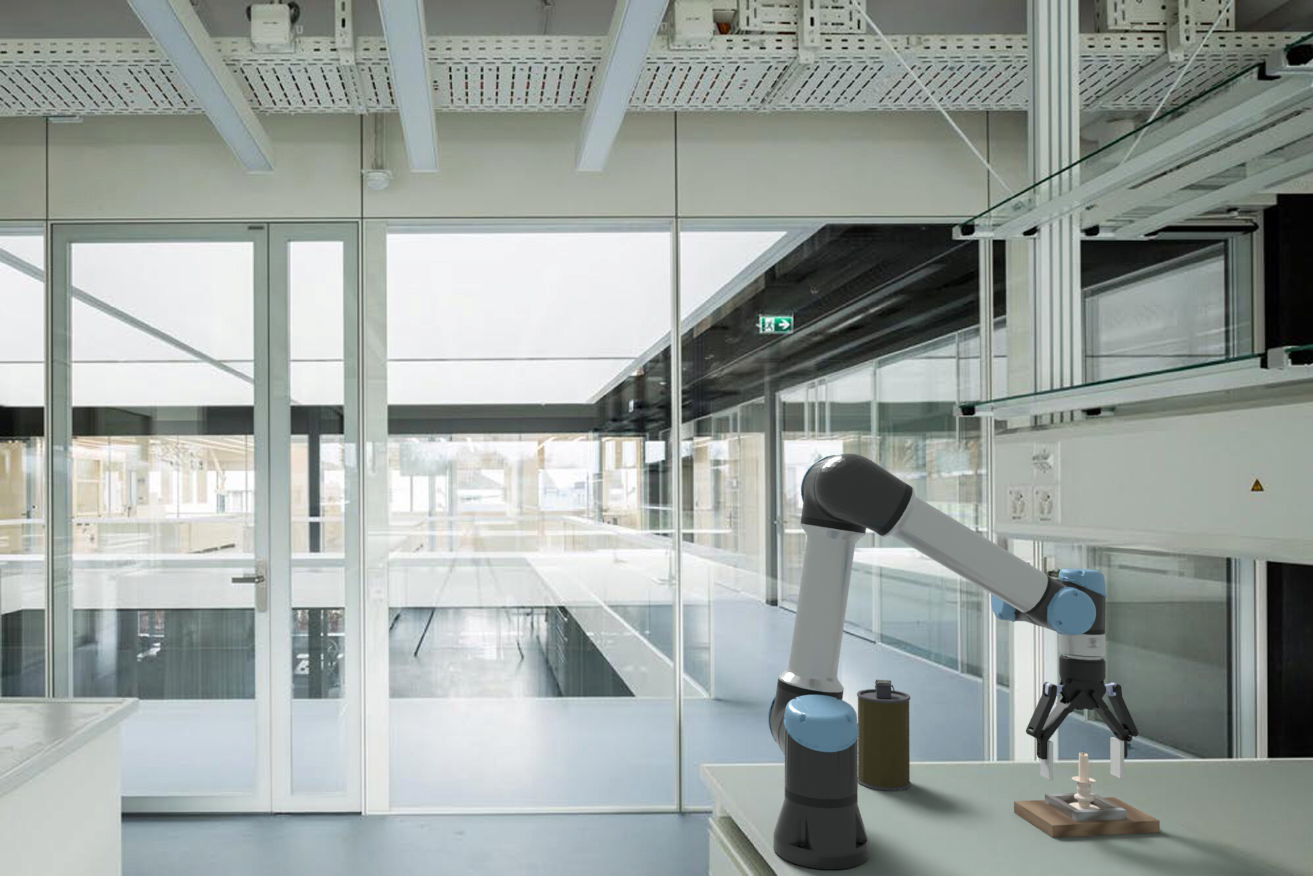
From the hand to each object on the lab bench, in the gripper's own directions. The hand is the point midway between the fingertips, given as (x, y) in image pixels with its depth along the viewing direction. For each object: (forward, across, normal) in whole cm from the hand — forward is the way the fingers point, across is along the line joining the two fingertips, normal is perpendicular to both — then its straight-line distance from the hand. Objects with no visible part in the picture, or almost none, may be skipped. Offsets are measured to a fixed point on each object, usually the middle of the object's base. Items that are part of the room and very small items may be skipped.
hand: (1082, 777), depth 160 cm
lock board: (+8, 0, 0) cm, 8 cm away
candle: (+6, 0, 0) cm, 6 cm away
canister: (+8, -26, +25) cm, 37 cm away
